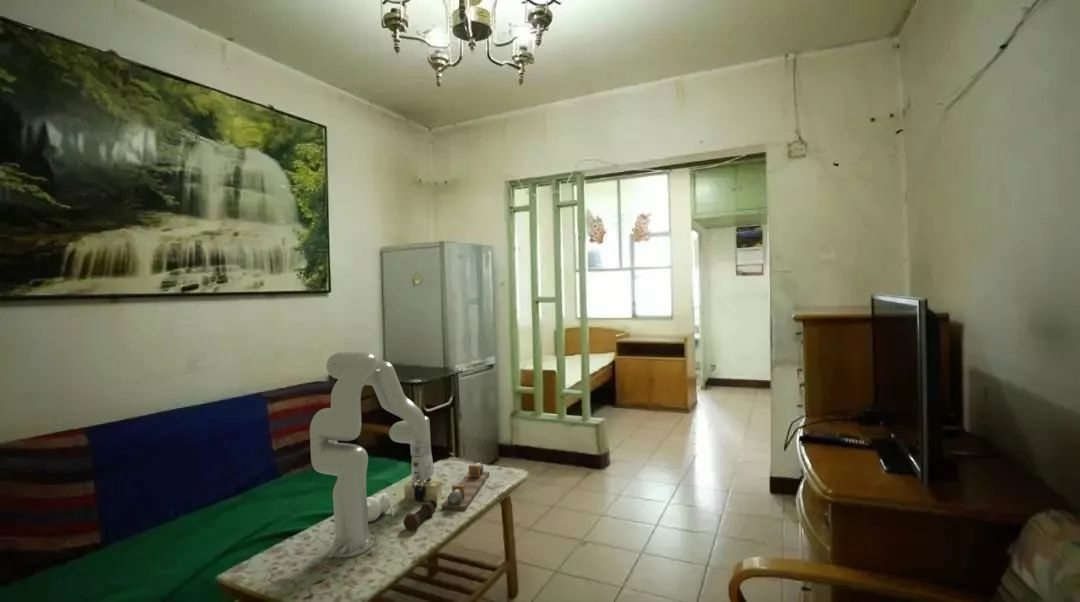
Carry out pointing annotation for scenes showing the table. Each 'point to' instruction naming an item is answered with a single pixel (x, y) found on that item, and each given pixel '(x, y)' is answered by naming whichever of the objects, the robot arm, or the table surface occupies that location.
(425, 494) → the tan rectangular block
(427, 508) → the bolt
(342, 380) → the robot arm
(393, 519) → the table surface
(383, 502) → the cat figurine
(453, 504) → the shaft base
